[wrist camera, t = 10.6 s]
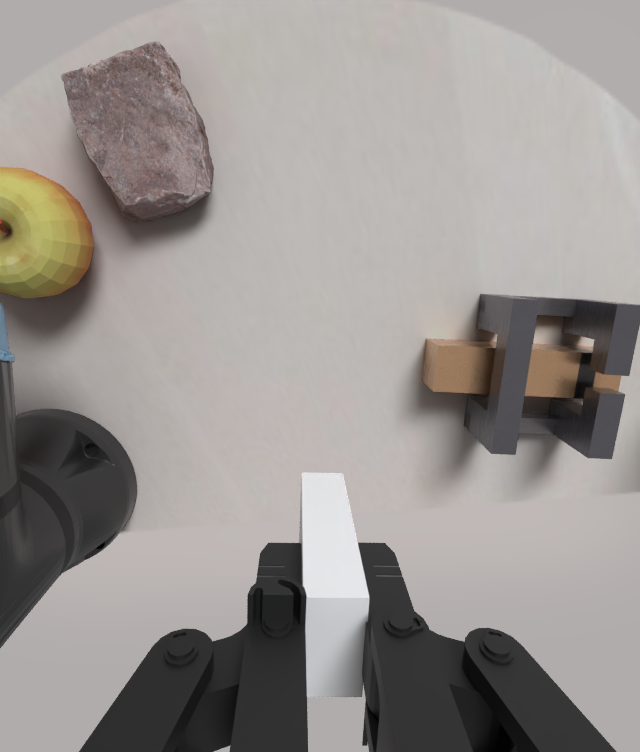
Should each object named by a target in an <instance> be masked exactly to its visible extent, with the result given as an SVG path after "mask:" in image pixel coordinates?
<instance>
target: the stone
mask: <svg viewBox="0 0 640 752" xmlns="http://www.w3.org/2000/svg"><path fill="white" fill-rule="evenodd" d="M61 77H62V80H63V82H64V87H65V91H66V94H67V98H68V105H69V108H70V112H71V116H72V119H73V121H74V123H75V125H76V127H77V135H78V137H79V139H80V140H81V141H82V143H83V145H84V148H85V151H86V153H87V155H88V157H89V159H90V161H91V162H92V163H93V164H94V166H95V167H96V168H97V169H98V170H99V171H100V173H101V174H102V176H103V177H104V179H105V181H106V183H107V184H108V186H109V188H110V190H111V191H112V193H113V195H114V197H115V200H116V202H117V204H118V207H119V209H120V212H121V213H122V215H123V216H124V217H125V218H126V219H129V220H131V221H133V222H144V221H151V220H152V219H156V218H159V217H161V216H165V215H170V214H175V213H178V212H180V211H182V210H184V209H186V208H188V207H190V206H192V205H193V204H195V203H196V202H197V201H198V200H199V199H202V198H203V197H204V196H207V195H209V193H211V190H210V187H211V184H212V179H213V170H214V167H213V164H212V162H211V161H212V159H211V157H210V154H209V146H208V138H207V136H206V133H205V126H204V123H203V120H202V118H201V117H200V115H199V114H198V112H197V111H196V109H195V107H194V106H193V103H192V100H191V97H190V95H189V93H188V91H187V90H186V88H185V87H184V86H183V85H182V83H181V79H180V70H179V68H178V66H177V65H176V63H175V62H174V61H173V60H172V58H171V57H170V55H169V54H168V53H167V52H166V51H165V48H164V47H163V46H162V45H161V44H160V43H159V42H151V43H147V44H145V45H143V46H141V47H138V48H136V49H133V50H128V51H123V52H120V53H118V54H116V55H114V56H112V57H110V58H108V59H106V60H101V61H100V62H97V63H93V64H90V65H88V67H83V68H80V69H79V70H75V71H71V72H67V73H64V74H62V75H61Z"/></svg>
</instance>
